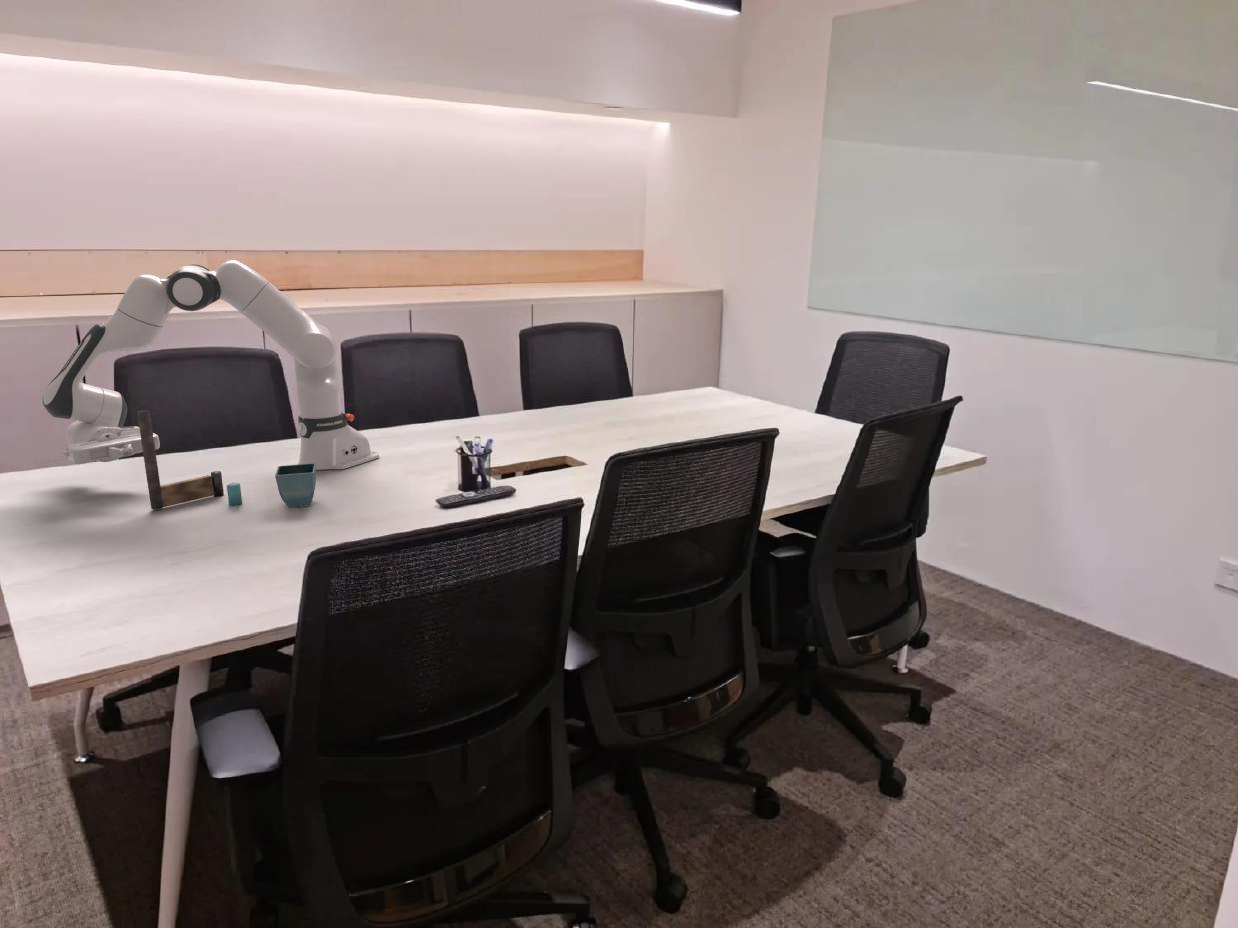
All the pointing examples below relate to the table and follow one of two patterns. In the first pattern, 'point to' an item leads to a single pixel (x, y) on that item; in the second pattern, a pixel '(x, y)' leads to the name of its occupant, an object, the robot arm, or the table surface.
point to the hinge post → (217, 483)
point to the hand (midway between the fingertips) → (127, 452)
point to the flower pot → (296, 484)
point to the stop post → (234, 494)
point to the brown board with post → (157, 493)
